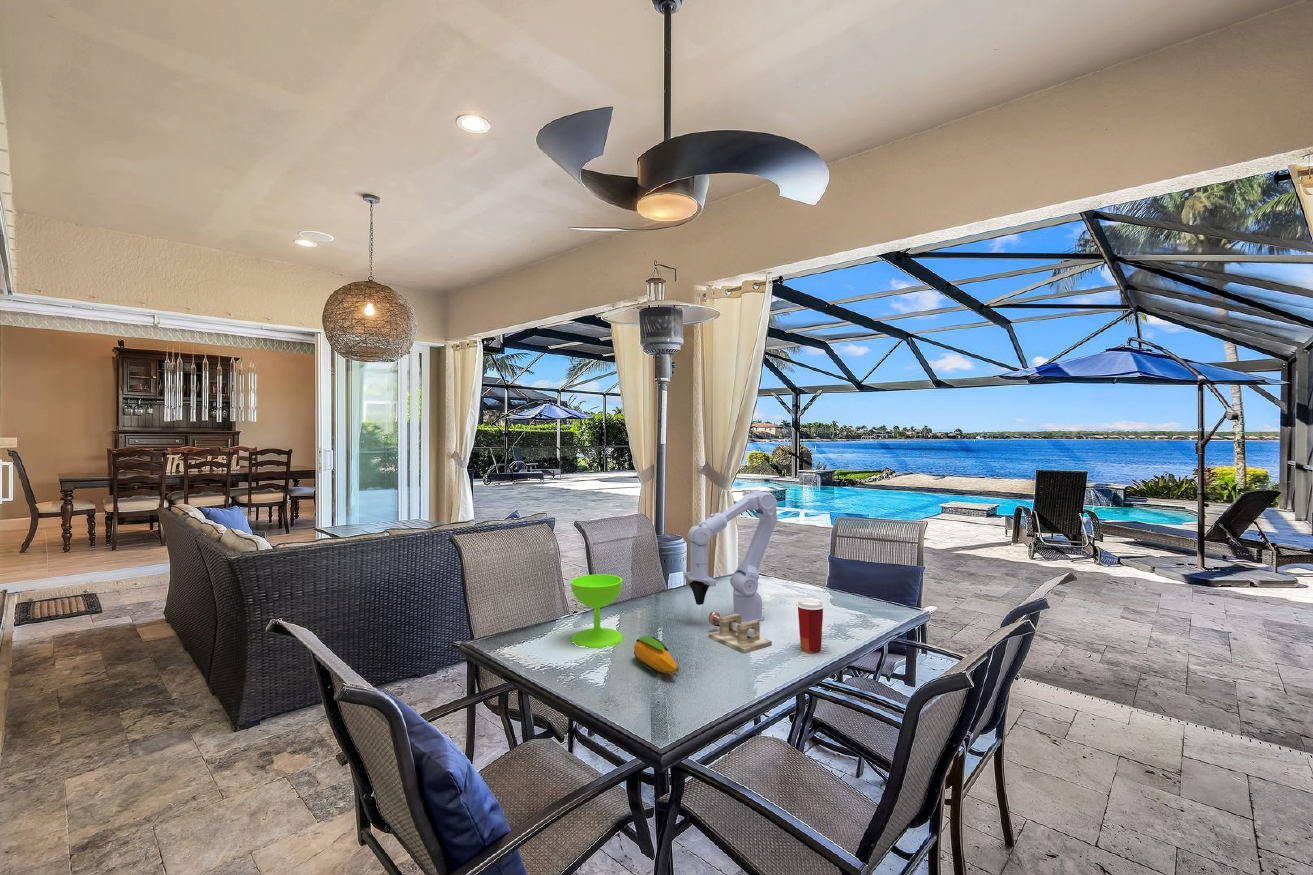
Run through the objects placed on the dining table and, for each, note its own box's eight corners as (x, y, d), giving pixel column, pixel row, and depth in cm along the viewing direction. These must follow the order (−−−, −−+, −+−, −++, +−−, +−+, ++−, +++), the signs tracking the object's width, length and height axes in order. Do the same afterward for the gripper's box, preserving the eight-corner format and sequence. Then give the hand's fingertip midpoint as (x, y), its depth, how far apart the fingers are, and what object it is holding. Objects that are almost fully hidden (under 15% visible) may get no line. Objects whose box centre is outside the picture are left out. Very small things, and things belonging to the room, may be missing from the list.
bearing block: (708, 637, 174) (708, 616, 175) (735, 630, 181) (734, 610, 181) (744, 653, 161) (744, 630, 161) (771, 645, 167) (771, 623, 167)
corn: (649, 627, 161) (688, 649, 144) (651, 653, 162) (690, 678, 144) (626, 633, 158) (663, 657, 140) (628, 660, 158) (665, 687, 141)
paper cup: (826, 647, 165) (825, 599, 166) (822, 656, 158) (821, 606, 159) (799, 643, 169) (798, 596, 169) (794, 652, 162) (793, 603, 162)
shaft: (708, 625, 180) (708, 612, 180) (718, 622, 182) (718, 610, 182) (748, 641, 165) (748, 628, 165) (758, 638, 167) (758, 625, 167)
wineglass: (567, 633, 179) (566, 576, 179) (616, 628, 184) (615, 572, 184) (575, 651, 164) (575, 589, 164) (629, 644, 169) (628, 584, 169)
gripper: (676, 560, 191) (677, 601, 191) (703, 568, 179) (704, 611, 179) (692, 558, 195) (693, 597, 195) (720, 565, 183) (721, 607, 183)
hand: (699, 604), depth 187 cm, fingers closed
